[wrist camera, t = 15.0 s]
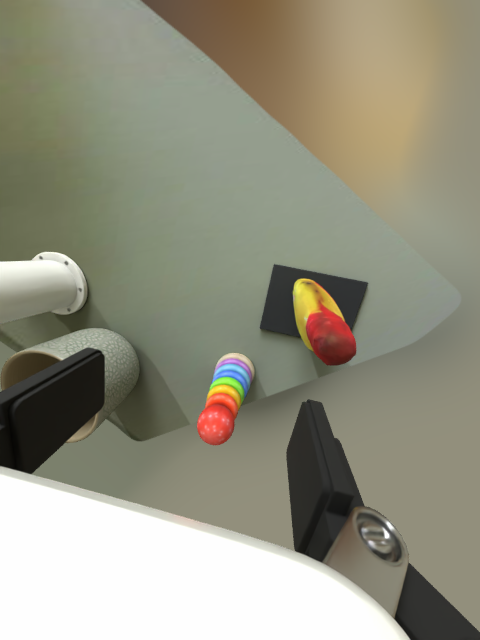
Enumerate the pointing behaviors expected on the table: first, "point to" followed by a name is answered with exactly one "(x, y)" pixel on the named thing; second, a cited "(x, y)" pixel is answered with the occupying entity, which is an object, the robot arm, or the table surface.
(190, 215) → the table surface
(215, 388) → the stacking toy
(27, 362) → the planter
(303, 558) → the robot arm
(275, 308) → the flat black rectangular pad
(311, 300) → the bottle
